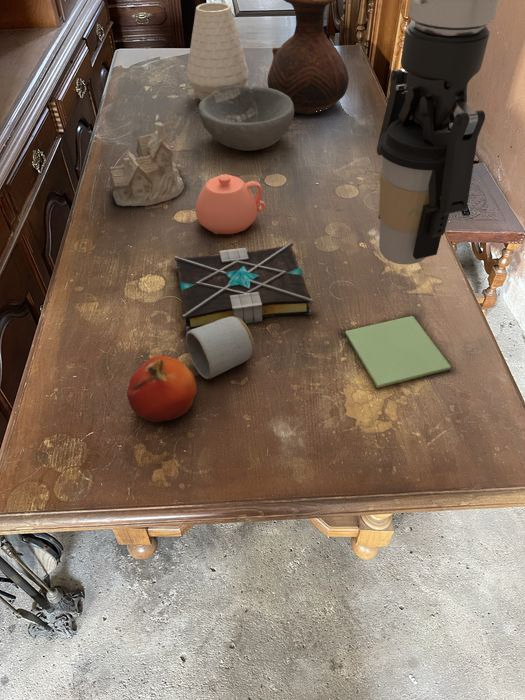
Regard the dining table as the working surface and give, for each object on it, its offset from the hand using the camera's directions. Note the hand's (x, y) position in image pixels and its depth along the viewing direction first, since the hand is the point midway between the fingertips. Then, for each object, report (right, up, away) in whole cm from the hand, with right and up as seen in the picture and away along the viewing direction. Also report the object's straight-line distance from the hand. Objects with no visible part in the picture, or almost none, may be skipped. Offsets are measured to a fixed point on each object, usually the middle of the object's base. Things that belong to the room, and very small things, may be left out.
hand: (406, 235), depth 66 cm
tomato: (-31, -22, +11) cm, 40 cm away
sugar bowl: (-24, +12, +44) cm, 52 cm away
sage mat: (+3, -14, +18) cm, 23 cm away
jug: (-5, +54, +85) cm, 101 cm away
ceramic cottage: (-43, +22, +55) cm, 73 cm away
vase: (-30, +58, +89) cm, 110 cm away
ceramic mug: (-25, -15, +18) cm, 34 cm away
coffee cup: (0, -2, +2) cm, 2 cm away
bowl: (-21, +38, +70) cm, 82 cm away
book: (-21, -4, +29) cm, 36 cm away
